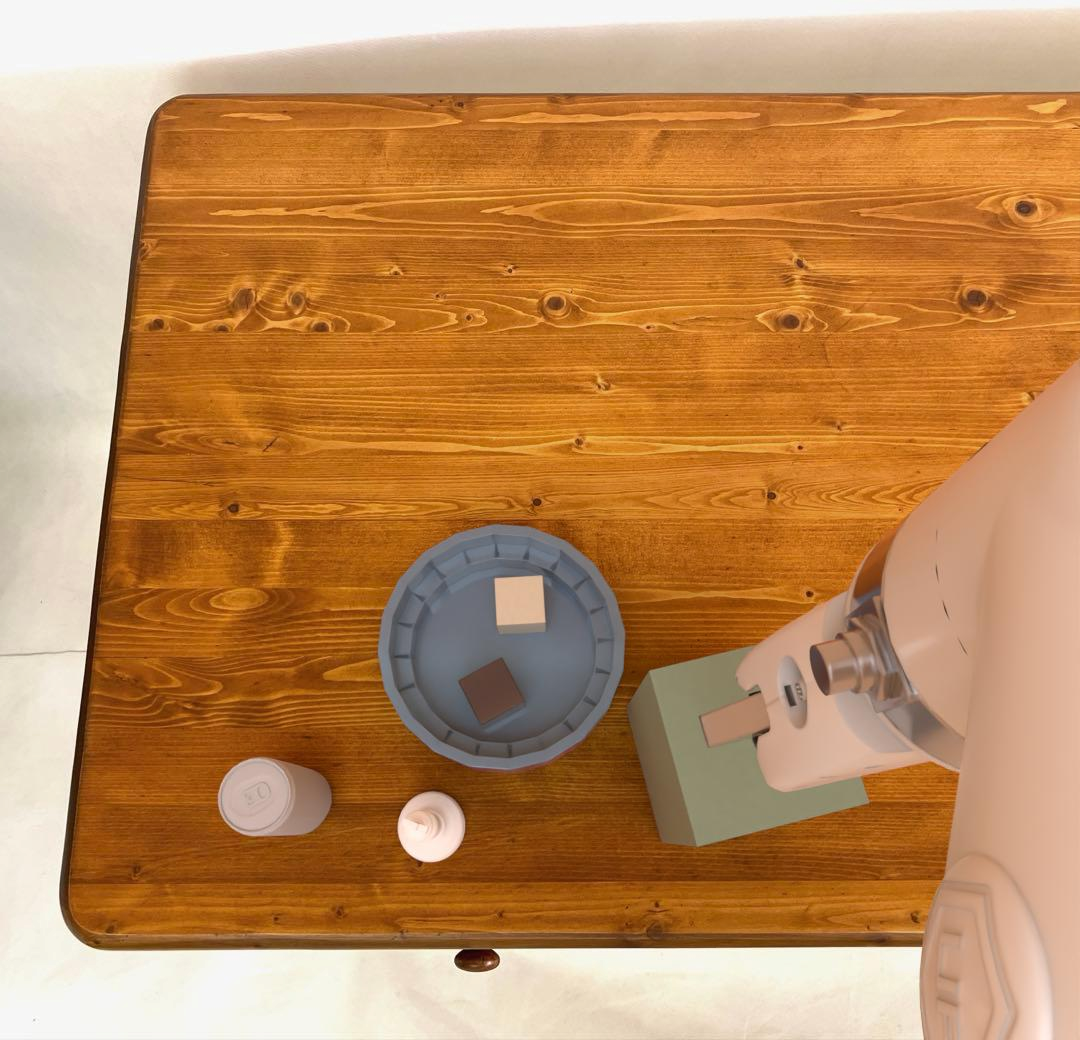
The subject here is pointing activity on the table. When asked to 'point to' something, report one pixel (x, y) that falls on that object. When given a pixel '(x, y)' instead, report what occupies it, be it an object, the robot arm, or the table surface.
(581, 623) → the bowl
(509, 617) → the cream block
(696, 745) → the stand
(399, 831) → the chess piece
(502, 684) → the walnut block
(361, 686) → the table surface
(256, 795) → the beverage can
